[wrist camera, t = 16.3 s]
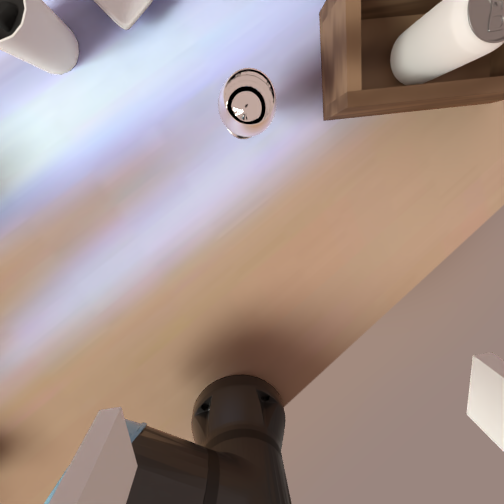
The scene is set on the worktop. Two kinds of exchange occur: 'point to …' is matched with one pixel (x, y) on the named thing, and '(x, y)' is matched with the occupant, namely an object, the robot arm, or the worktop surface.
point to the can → (447, 39)
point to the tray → (124, 10)
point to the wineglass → (247, 103)
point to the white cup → (37, 36)
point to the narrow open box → (379, 68)
